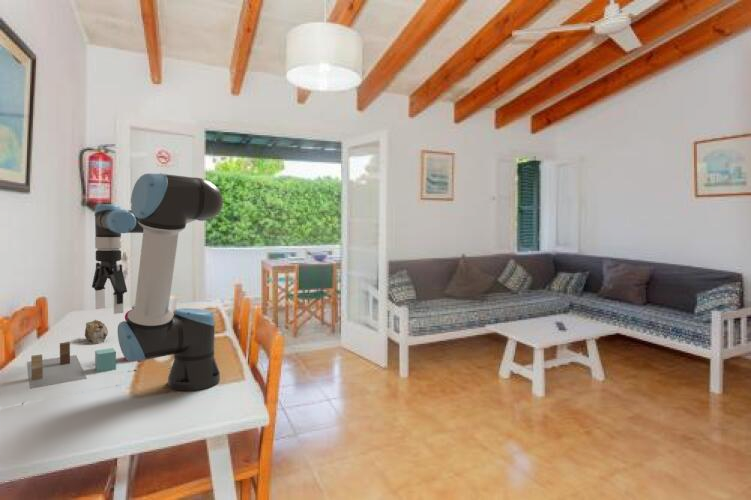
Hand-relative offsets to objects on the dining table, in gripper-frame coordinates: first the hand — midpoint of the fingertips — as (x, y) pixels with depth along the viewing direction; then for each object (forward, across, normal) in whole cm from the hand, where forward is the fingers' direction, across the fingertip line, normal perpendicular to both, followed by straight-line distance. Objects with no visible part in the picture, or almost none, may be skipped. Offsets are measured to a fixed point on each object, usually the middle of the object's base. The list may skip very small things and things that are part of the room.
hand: (109, 310), depth 149 cm
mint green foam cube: (+19, -5, +3) cm, 20 cm away
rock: (+19, +37, -11) cm, 43 cm away
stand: (+19, +6, +14) cm, 24 cm away
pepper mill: (+19, -1, -8) cm, 21 cm away
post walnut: (+18, +11, +9) cm, 23 cm away
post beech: (+18, +2, +20) cm, 27 cm away
